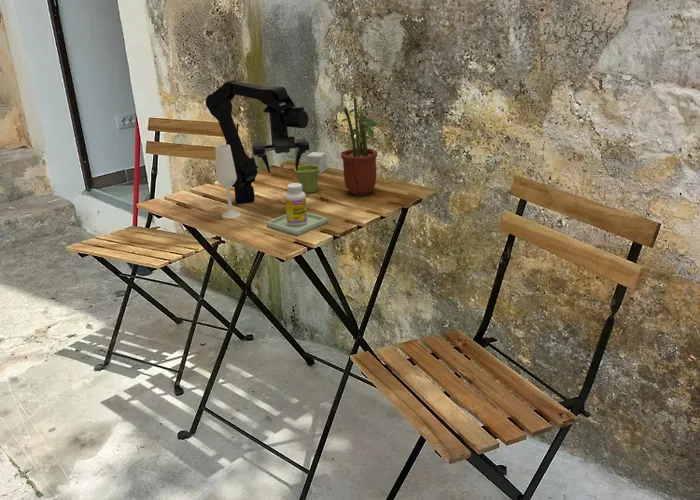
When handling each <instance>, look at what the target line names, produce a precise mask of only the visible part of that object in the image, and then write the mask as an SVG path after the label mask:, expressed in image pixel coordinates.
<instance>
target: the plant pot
mask: <svg viewBox="0 0 700 500" xmlns="http://www.w3.org/2000/svg"><path fill="white" fill-rule="evenodd" d="M319 169H320V167H319V166H316V165H307V164H305V165H298V168H297V170H296V169H295V168H294V169H293V170H294V172H295V175H296V176H297V181H298V183H300V184H302V191H303V192H304V193H305V194H308V193H315V192H317V190H318V178H319V174H318V173H319Z"/></svg>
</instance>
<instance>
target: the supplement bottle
mask: <svg viewBox="0 0 700 500" xmlns="http://www.w3.org/2000/svg"><path fill="white" fill-rule="evenodd" d="M286 186H287V192H286V193H285V195H284V200H285V212H286V213H285V214H286V215H287V223H288V224H289V225H292V226H300V225H304V224H306V223H307V213H308V209H307V195H306V194H307V193H304V192H303V191H302V184H300V183H299V182H292V183H289V184H287V185H286Z"/></svg>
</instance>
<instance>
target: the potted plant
mask: <svg viewBox="0 0 700 500" xmlns="http://www.w3.org/2000/svg"><path fill="white" fill-rule="evenodd" d="M352 99H353V109H351V110H350V111H349V110H348V108H347V106H346V105H344V108H343V113H344V115H345V117H346V118H343V119H341V123H343V122H345V121H347V125H348V128H349V132H345V133H344V134H343V135H342V136H340V137H338V140H340V139H341V138H342V137H343V136H346V135H349V134H350V137H351V145H352V148H351V149H346V150H343V151H342V152H341V153H340V159H342V164H343V165H342V166H343V169H342V170H343V179H344V184H345V187H346V189H347V190H348V192H350V194H353V195H355V196H365V195H368V194H369V193H371V192H372V191H373V190H374V188H375V186H376V181H377V157H378V151H377V150H376V149H372V148H368V143H367V139H371V140H374V135H375V131H374V130H373V129H372V128H375V127H377V126H378V125H379V123H378V122H377V121H376V120H374V119H373V118H371V117H370V118H369V117H368V118H367V117H364V113H363V112H365V110H366V108H362V109H360V111H359V112H360V114H358V103H357V97H355V96H354V97H351V98H350V100H352ZM352 113H354V116H352V118H354V128H353V125H352V120H351V116H350V114H352ZM358 118H359V120H358ZM363 119H364V120H363ZM366 125H367V126H368V127H366ZM367 133H368V134H369V136H367ZM335 144H337V141H336V143H335Z"/></svg>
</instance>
